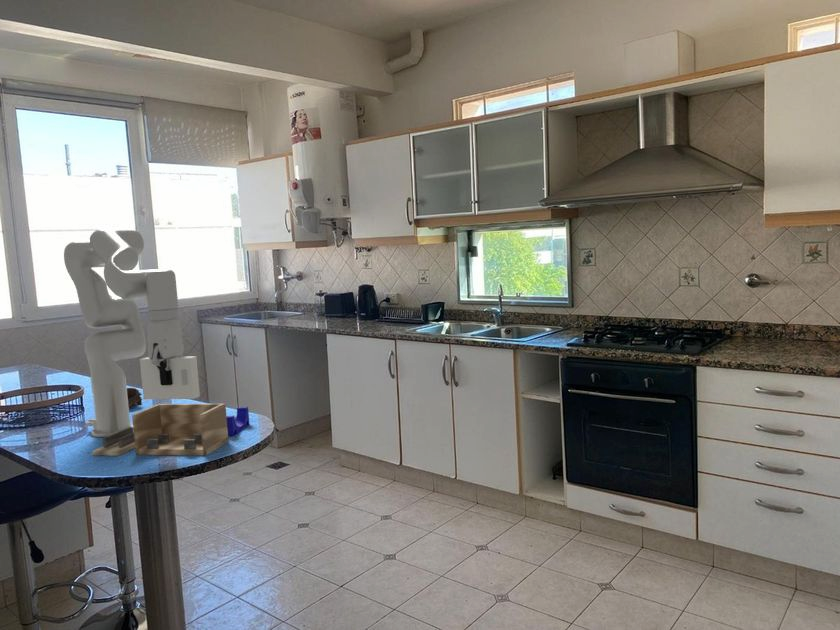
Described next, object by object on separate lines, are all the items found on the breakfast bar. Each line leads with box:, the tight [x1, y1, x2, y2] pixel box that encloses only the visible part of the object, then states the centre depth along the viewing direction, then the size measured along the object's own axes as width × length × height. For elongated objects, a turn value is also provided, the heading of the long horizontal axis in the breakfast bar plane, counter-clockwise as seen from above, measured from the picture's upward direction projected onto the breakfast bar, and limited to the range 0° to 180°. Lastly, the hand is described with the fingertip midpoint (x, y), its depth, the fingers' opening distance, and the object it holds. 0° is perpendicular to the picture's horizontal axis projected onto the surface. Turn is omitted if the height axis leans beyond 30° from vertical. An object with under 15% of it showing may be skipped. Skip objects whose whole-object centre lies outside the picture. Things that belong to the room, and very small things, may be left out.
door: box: [139, 355, 201, 400], centre depth 171 cm, size 15×4×11 cm, turn 79°
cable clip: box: [226, 406, 250, 437], centre depth 191 cm, size 12×4×6 cm, turn 173°
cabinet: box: [131, 403, 229, 456], centre depth 175 cm, size 21×12×11 cm, turn 79°
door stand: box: [92, 427, 135, 457], centre depth 181 cm, size 8×18×4 cm, turn 169°
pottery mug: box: [127, 387, 143, 407], centre depth 229 cm, size 12×9×8 cm
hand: (170, 382), depth 171 cm, fingers closed on door, 3 cm apart
